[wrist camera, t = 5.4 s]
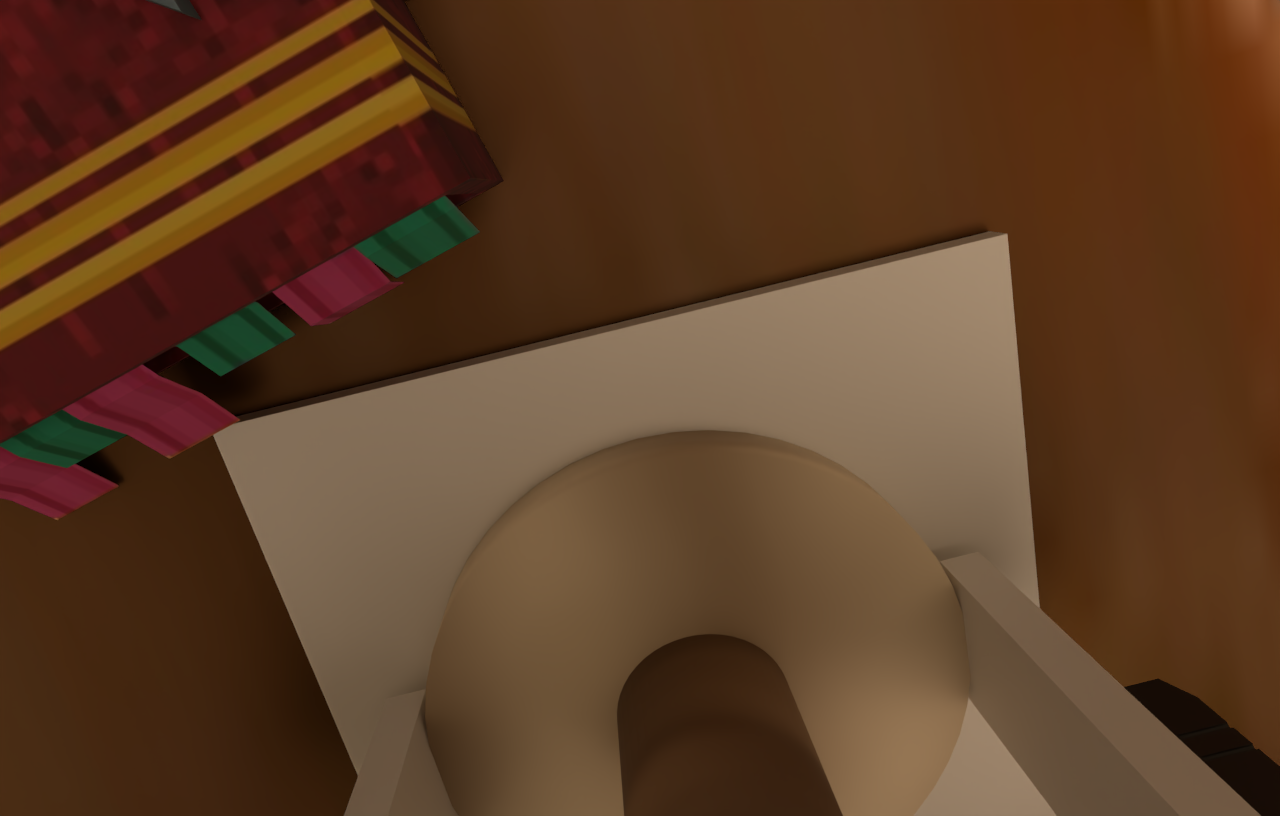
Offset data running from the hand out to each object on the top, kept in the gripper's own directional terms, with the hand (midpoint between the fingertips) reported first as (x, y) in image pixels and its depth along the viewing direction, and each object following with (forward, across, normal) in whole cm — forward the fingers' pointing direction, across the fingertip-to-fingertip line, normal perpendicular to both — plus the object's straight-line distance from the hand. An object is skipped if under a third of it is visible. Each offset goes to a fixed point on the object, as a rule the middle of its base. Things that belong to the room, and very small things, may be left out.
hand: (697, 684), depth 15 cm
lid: (0, 0, 0) cm, 0 cm away
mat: (+1, 0, 0) cm, 1 cm away
